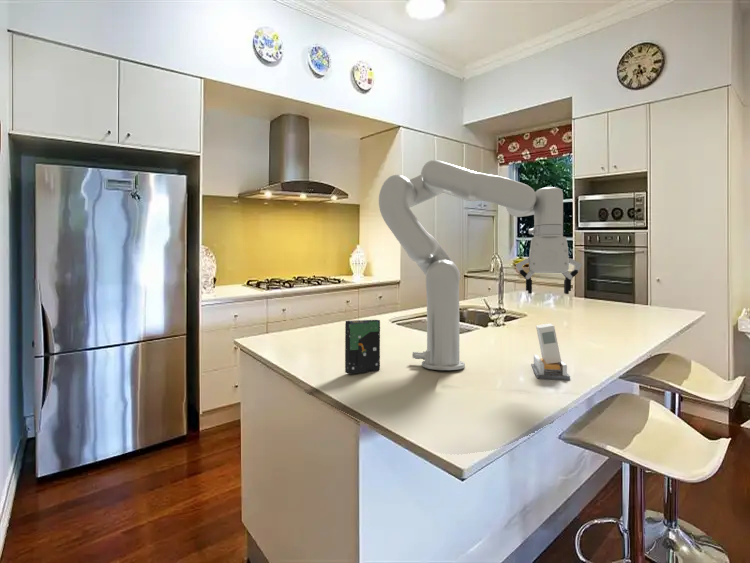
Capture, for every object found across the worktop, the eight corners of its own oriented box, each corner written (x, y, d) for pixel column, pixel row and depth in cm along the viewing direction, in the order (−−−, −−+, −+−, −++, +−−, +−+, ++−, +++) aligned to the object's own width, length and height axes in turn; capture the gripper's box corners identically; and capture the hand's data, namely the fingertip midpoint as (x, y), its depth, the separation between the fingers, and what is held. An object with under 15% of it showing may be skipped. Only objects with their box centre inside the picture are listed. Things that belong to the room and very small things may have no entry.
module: (546, 364, 121) (539, 328, 121) (542, 359, 128) (535, 325, 128) (561, 362, 120) (554, 325, 120) (557, 357, 127) (550, 323, 127)
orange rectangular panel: (544, 369, 119) (544, 365, 119) (539, 361, 130) (539, 358, 130) (560, 369, 118) (560, 366, 118) (553, 362, 129) (553, 358, 129)
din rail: (537, 378, 117) (537, 364, 117) (531, 367, 133) (531, 354, 133) (570, 380, 115) (570, 365, 115) (559, 368, 131) (559, 355, 131)
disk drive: (375, 369, 130) (375, 318, 130) (380, 370, 128) (380, 319, 128) (344, 373, 125) (344, 320, 125) (348, 374, 122) (348, 321, 122)
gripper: (517, 232, 122) (516, 293, 123) (584, 230, 118) (584, 294, 118) (515, 234, 130) (514, 293, 130) (578, 233, 126) (578, 293, 126)
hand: (548, 293), depth 124 cm, fingers open, 9 cm apart
